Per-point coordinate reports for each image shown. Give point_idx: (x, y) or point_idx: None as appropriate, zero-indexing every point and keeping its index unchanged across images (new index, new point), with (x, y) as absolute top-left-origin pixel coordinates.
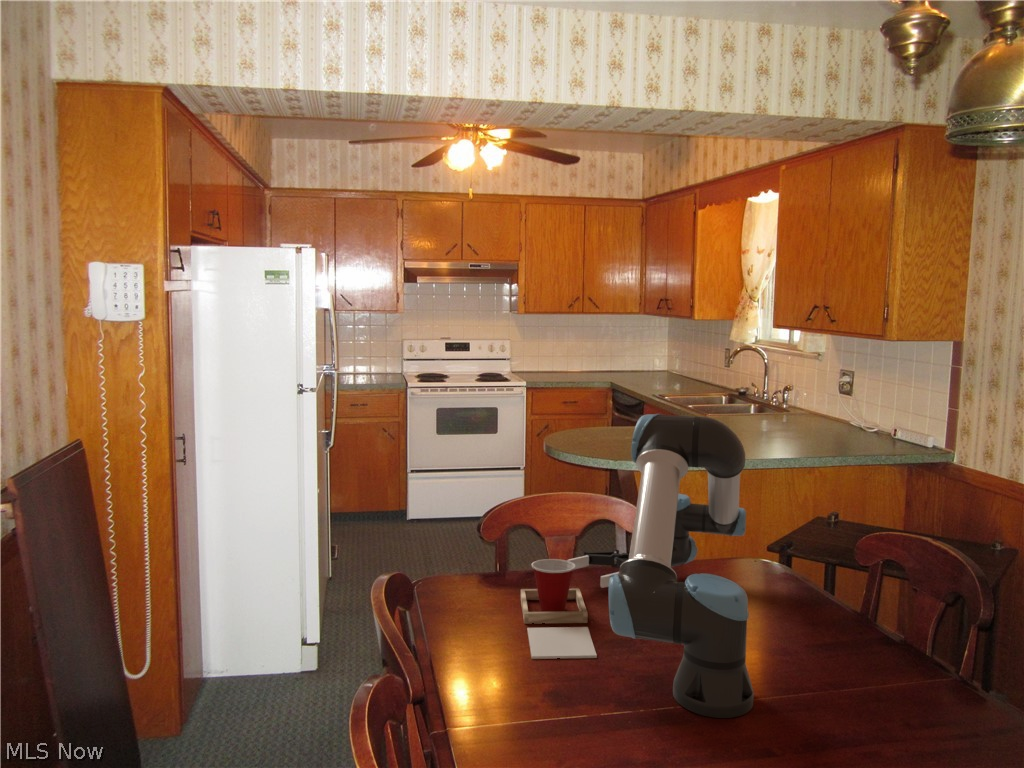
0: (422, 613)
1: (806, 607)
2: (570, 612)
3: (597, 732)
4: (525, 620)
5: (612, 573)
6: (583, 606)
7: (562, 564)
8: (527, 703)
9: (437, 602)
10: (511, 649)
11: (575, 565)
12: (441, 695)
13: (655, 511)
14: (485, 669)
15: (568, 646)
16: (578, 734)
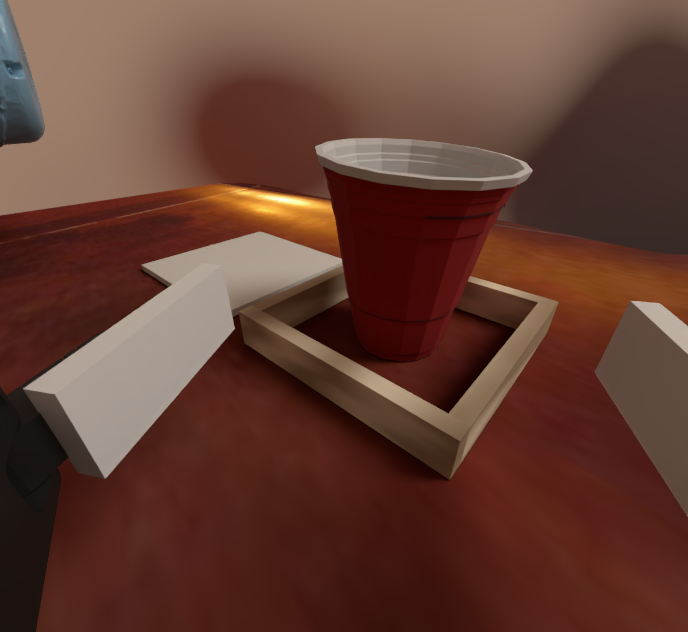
0: (529, 231)
1: None
2: (290, 291)
3: (95, 212)
4: None
5: (149, 319)
6: (281, 329)
7: (460, 199)
8: (202, 209)
9: (581, 249)
10: (310, 236)
11: (644, 397)
12: (296, 195)
13: None
14: (297, 214)
15: (217, 259)
16: (118, 207)
